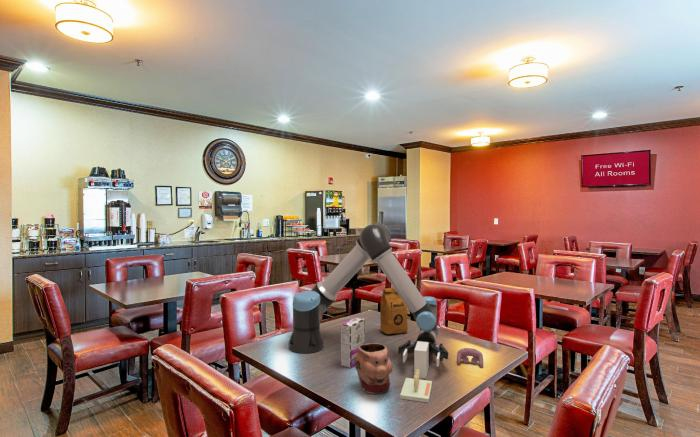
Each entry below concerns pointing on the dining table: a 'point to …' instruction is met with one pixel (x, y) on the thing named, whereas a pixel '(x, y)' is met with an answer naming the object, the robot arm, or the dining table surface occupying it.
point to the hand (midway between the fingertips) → (420, 360)
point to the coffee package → (393, 312)
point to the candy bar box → (351, 340)
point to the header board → (416, 389)
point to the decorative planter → (373, 367)
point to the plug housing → (421, 359)
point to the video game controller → (470, 352)
